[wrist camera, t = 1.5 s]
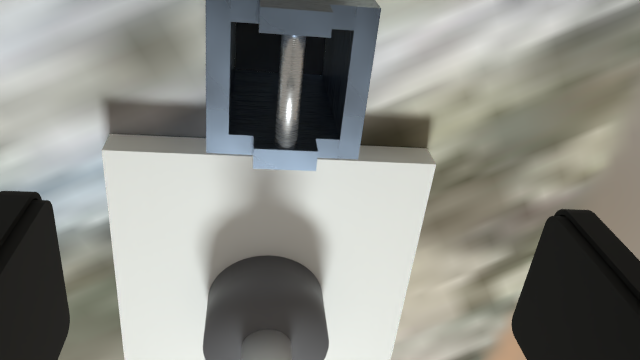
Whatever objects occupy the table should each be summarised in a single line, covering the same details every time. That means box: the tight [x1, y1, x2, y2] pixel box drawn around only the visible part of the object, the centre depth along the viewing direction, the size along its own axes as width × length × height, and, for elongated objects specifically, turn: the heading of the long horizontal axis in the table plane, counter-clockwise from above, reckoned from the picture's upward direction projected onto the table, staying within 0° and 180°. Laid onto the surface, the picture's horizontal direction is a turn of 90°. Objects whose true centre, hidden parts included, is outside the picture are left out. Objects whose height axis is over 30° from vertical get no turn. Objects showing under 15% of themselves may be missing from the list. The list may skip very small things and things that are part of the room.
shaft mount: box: [102, 134, 436, 360], centre depth 25 cm, size 16×14×10 cm
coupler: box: [206, 0, 381, 171], centre depth 19 cm, size 5×5×7 cm
